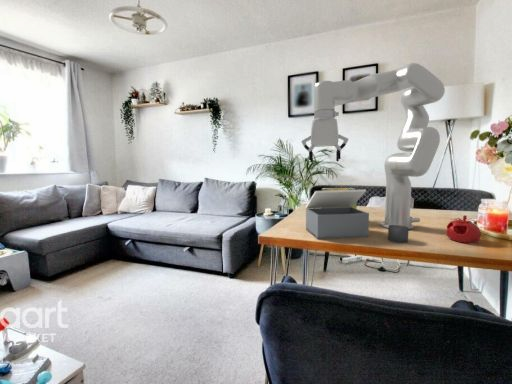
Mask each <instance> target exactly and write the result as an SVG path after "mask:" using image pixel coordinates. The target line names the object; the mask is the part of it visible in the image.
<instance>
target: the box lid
mask: <svg viewBox="0 0 512 384" xmlns="http://www.w3.org/2000/svg"><path fill="white" fill-rule="evenodd" d="M366 192H367V189H366V188H365V189H355V190H331V191H322V190H314V193H313V194H312V196H311V197H310V199H309V201H308V202H307V204H306V206H305V209H312V208H333V207H352V205H353V204H354V203H355V202H356V201H357V202H358V201H359V199H360V198H361V197H362V196H363V195H364V194H365V193H366Z"/></svg>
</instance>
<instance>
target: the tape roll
mask: <svg viewBox="0 0 512 384" xmlns="http://www.w3.org/2000/svg"><path fill="white" fill-rule="evenodd" d="M387 229H388V233H387V240H388V241H389V242H392V243H397V244H406V243H409V230H410V229H409V228H408V227H406V226H402V225H389V227H388V228H387Z"/></svg>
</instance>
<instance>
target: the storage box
mask: <svg viewBox="0 0 512 384" xmlns="http://www.w3.org/2000/svg"><path fill="white" fill-rule="evenodd" d="M369 220H370V213H369V212H366V211H363V210H360V209H358V208H357V209H355V208H353V207H339V208H305V229H306V232H308V233H309V234H311V235H312V236H313V237H314V238H315V239H316V240H327V239H328V240H331V239H332V240H333V239H345V238H367V237H369V222H370V221H369Z"/></svg>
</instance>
